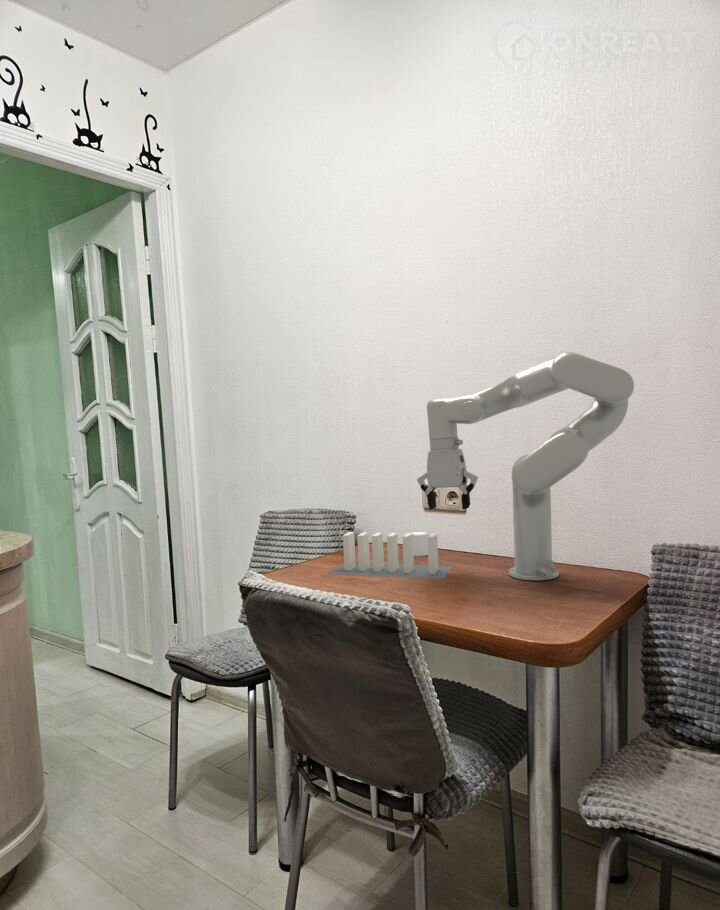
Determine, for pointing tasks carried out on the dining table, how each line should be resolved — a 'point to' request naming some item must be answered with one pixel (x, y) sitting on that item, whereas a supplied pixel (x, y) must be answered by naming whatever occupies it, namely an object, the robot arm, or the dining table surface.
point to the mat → (417, 572)
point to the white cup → (420, 543)
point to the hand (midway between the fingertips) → (449, 508)
